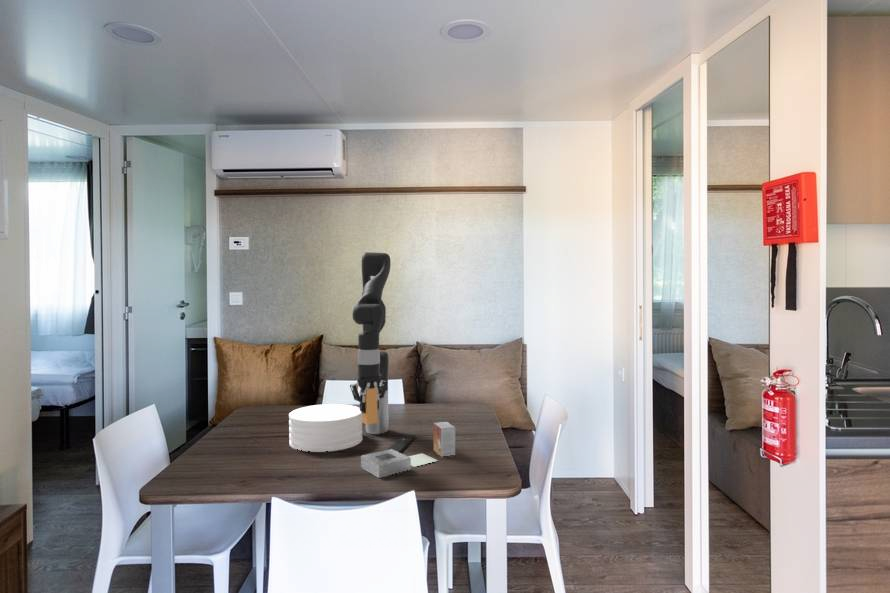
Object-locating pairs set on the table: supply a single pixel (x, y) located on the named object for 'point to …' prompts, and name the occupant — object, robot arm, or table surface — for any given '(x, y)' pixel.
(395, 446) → the remote control
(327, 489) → the table surface
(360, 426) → the plate stack
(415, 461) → the mat
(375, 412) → the key peg
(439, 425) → the small box
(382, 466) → the socket block
